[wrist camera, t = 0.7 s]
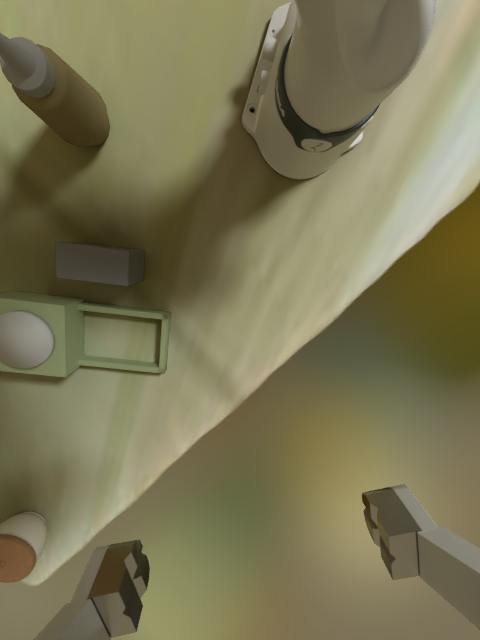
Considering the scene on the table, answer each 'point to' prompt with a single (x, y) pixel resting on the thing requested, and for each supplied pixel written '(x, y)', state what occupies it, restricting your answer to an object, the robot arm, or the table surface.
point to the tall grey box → (99, 263)
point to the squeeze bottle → (54, 91)
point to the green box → (61, 335)
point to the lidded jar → (21, 545)
